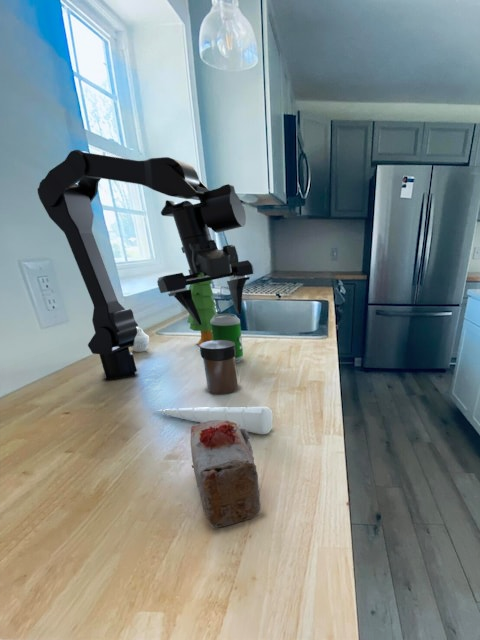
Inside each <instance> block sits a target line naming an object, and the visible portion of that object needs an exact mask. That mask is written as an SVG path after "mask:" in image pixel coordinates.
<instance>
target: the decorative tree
mask: <svg viewBox="0 0 480 640" xmlns="http://www.w3.org/2000/svg"><path fill="white" fill-rule="evenodd" d="M201 276H204V274H203V273H200V275H198V277H201ZM205 278H206V277H205ZM200 279H201V278H200ZM211 284H213V280H209V281H205V282H200V283H195V284H190V285H188V286H189V287H188V290H190V289H191V294H192V299H193V302H194V304H195V307H196V309H197V312H198V314H199V317H200V320H201V325H198V324H197V323H196V321H195V320H194V319H193V318H192V316H191V315H190V314H189V313H188V318H187V321H186V323H187V324H189V329H190V330H192V331H195V332H200V339H199V341H198V342H197V346H199V347H200V344H201V343H204V342H207V341H213V337H212V329H211V319H212V318H213V316H214V315H218V313H217V311H216V310H215V307H217V304H216V302H215V300H214V299H213V296H214V292H213V289H212V286H211Z"/></svg>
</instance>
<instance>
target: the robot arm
mask: <svg viewBox="0 0 480 640" xmlns="http://www.w3.org/2000/svg"><path fill="white" fill-rule="evenodd" d="M102 179H103V180H109V181H115V182H121V183H128V184H133V185H140V186H144V187H147V188H149V189H151V190H153V191H155V192H158V193H160V194H162V195H165V196H168V197H172V198H179V199H184V201H179V202H175V201H174V200H170V199H169V200H168V199H167V200H165V204H164V206H163V207H162V209H161V211H160V214H161V216H163V217H172V218H173V220H174V223H175V227H176V230H177V233H178V236H179V240H180V242H181V245H182V247H181V248H180V249H181V251H182V254H185V255H184V256H185V259H186V261H187V264H188V267H189V269H188V273H189V274H187V275H185V274H184V272H178V273H173V274H168V275H163V276H160V277H158V278H157V281H156V283H157V286H158V289H159V293H160V294H163V293H168V294H167V295H168V297H174V298H175V299H176V300H177V301H178V302H179V303H180V304H181V305H182V306H183V307H184V309H185V310H186V311H187V313H188V315H189V314H190V315H191V316H192V318H193V319H194V320H195V321H196V323H197V324H198V325H201V320H200V317H199V314H198V312H197V309H196V307H195V304H194V302H193V299H192V294H191V289H190V290H189V289H188V288H187V286H190V284H195V283H200V282H205V281H209V280H211V281H213V280H219V279H224V278H229V280H227V281H226V283H227V288H228V291H229V292H230V297H231V300H232V303H233V307H234V309H235V311H236V314H237V315H242V304H243V292H244V287H245V285H246V282H247V281H249V280H250V278H251V277H250V276H249V275H254V274H255V270H254V265H253V264H252V263H251V261H250V260H249V259H248V260H247V259H246V260H241V261H239V254H238V252H237V251H238V250H237V248H236V245H234V244H227V245H223V246H222V248H221V249H219V248H218V245H217V243H216V241H215V239H212V237H211V233H210V229H211V230H212V231H213V232H214V233H216V234H219V233H222V232H228V231H230V230H235V229H239V228H243V227H245V226H246V222H247V216H246V210H245V207H244V205H243V204H242V201H241V199H240V197H239V196H238V194H237V193H236V190H235V187H234V185H232V184H228V183H227V184H223V185H221V186H220V187H218V188H215V189H209V188H208V186H206V185H205V184H204V183H203V182H202V181H201V179H200V178H199V174H198V172H197V171H196V169H195V168H194V166H192V165H191V164H189V163H187V162H183V161H181V160H177V159H175V158H171V157H168V156H164V157H152V158H148V159H145V160H135V159H130V158H129V159H128V158H124V157H117V156H109V155H103V154H97V153H91V152H88V151H84V150H80V149H74V150H71V151H70V152H69V153H68V155H67V156H66V158H65V159H64V160H63V161H62V162H60V163H59V164H57V165H56V166H55V167H53V168H52V169H50V170H49V171H48V173H46V175H45V177H44V178H42V179H41V181H40V182H39V185H38V188H37V195H38V198H39V200H40V203H41V205H42V206H43V208H44V209H45V212H46V213H47V215H48V217H49V218H50V219H51V221H53V223H54V224H55V225H56V226H57V227H58V228H59V230H61V231H62V232H63V233H64V235H65V237H66V240H67V243H68V245H69V248H70V251H71V252H72V255H73V258H74V260H75V263H76V265H77V267H78V270H79V273H80V276H81V277H82V280H83V283H84V285H85V287H86V290H87V292H88V295H89V298H90V300H91V302H92V305H93V312H92V320H91V321H92V326H93V329H94V334H93V336H92V337H91V339H90V340H89V342H88V344H87V347H88V348H89V350H90V352H91V354H94V355H99V357H100V362H101V365H102V369H103V373H104V380H106V381H109V380H116V379H123V378H125V379H126V378H131V377H136V376H137V375H136V372H137V371H138V370H137V365H136V361H135V358H134V353H133V352H131V351H130V348H131V347H130V346H134V340H135V337H136V335H137V328H136V327H139V324H138V323H137V322H136V319H135V317H134V312H133V310H132V309H131V308H127V309H126V308H125V307H123V305H122V304H120V302H119V300H118V297H117V294H116V292H115V290H114V287H113V285H112V281H111V279H110V276H109V274H108V271H107V268H106V266H105V263H104V261H103V258H102V254H101V252H100V249H99V247H98V244H97V241H96V239H95V236H94V232H93V224H94V210H93V207H92V202H93V201H94V199H95V197H96V196H97V194H98V190H99V182H100V181H101V180H102ZM189 200H194V201H195V200H196V201H199V202H197V203H195V204H193V203H192V202H191V201H189ZM200 273H203V274H204V276H201V277H198V275H200ZM205 277H206V278H205ZM200 278H201V279H200Z"/></svg>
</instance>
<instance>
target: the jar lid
mask: <svg viewBox="0 0 480 640" xmlns="http://www.w3.org/2000/svg"><path fill="white" fill-rule="evenodd" d="M199 352H200V357H201V358H202V359H203V358H204V359H207V360H225V359H230V358H233V357H235V356H236V347H235V343H234V342H232V341H227V340H214V341H207V342H204V343H201V344H200V346H199Z"/></svg>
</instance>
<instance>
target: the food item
mask: <svg viewBox="0 0 480 640" xmlns="http://www.w3.org/2000/svg"><path fill="white" fill-rule="evenodd" d="M239 426H240V425H239ZM250 439H251V437H250V435H249V432H247V431H246V430H245V429H239V428H238V426H237V424H236V423H234V422H230V421H225V420H211V421H207V422H203V423H201V422H199V423H196V424H192V425H191V427H190V451H191V458H192V459H191V462H192V464H191V468H192V469H193V474H194V478H195V481H196V487H197V488H198V494H199V498H200V502H201V505H202V509H203V511H204V514H205V516H206V519H207V520H208V522H209V524H210V525H211V527H212V528H219V527H220V528H221V527H227V526H231V525H233V524H236V523H240V522H242V521H246V520H252V519H255V518H256V517H258V516H259V514H260V512H261V502H260V501H261V500H260V497H261V494H260V489H259V475H258V472H257V466H256V465H255V461H254V460H255V457H254V451H253V447H252V444H251V441H250Z"/></svg>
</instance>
